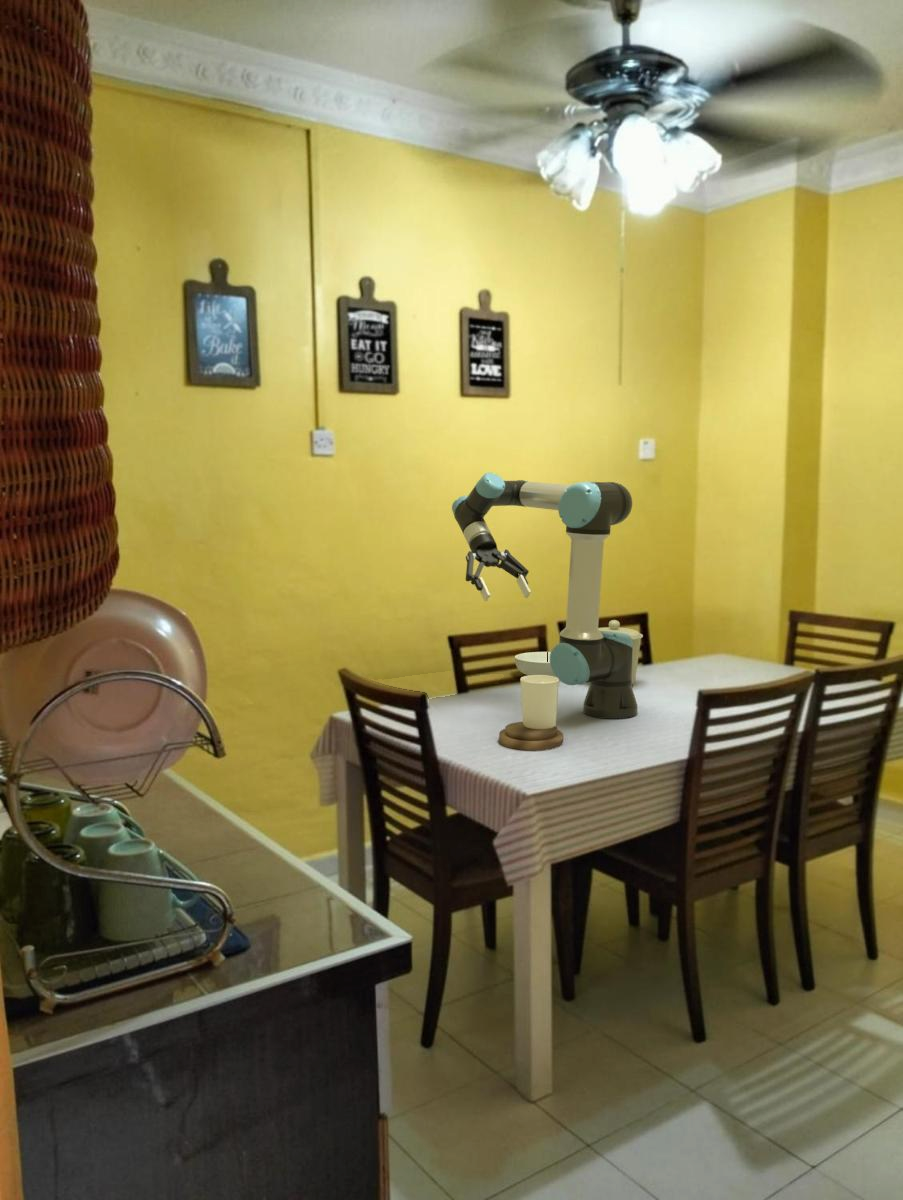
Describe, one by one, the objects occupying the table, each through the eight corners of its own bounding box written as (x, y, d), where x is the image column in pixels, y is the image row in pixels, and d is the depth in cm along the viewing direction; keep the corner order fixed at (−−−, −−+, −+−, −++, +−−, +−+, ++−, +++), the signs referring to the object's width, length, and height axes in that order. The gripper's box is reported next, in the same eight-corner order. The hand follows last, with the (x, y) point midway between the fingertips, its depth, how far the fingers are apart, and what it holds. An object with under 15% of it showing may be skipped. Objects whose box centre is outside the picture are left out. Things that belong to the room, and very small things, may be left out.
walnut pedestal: (569, 736, 237) (569, 722, 236) (554, 753, 222) (554, 739, 221) (509, 730, 242) (509, 717, 242) (490, 746, 227) (490, 733, 227)
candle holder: (562, 729, 230) (563, 682, 228) (523, 730, 229) (524, 683, 227) (554, 719, 240) (554, 674, 238) (516, 720, 238) (517, 675, 237)
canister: (634, 678, 306) (635, 615, 303) (648, 691, 288) (649, 624, 285) (580, 679, 305) (581, 616, 302) (590, 691, 287) (591, 624, 285)
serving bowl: (579, 671, 318) (579, 652, 317) (573, 684, 298) (573, 663, 297) (519, 669, 323) (519, 649, 322) (509, 681, 303) (509, 661, 302)
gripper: (511, 547, 280) (539, 601, 269) (439, 550, 268) (465, 607, 257) (520, 530, 275) (549, 585, 264) (447, 533, 263) (475, 590, 252)
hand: (508, 596), depth 261 cm, fingers open, 13 cm apart
